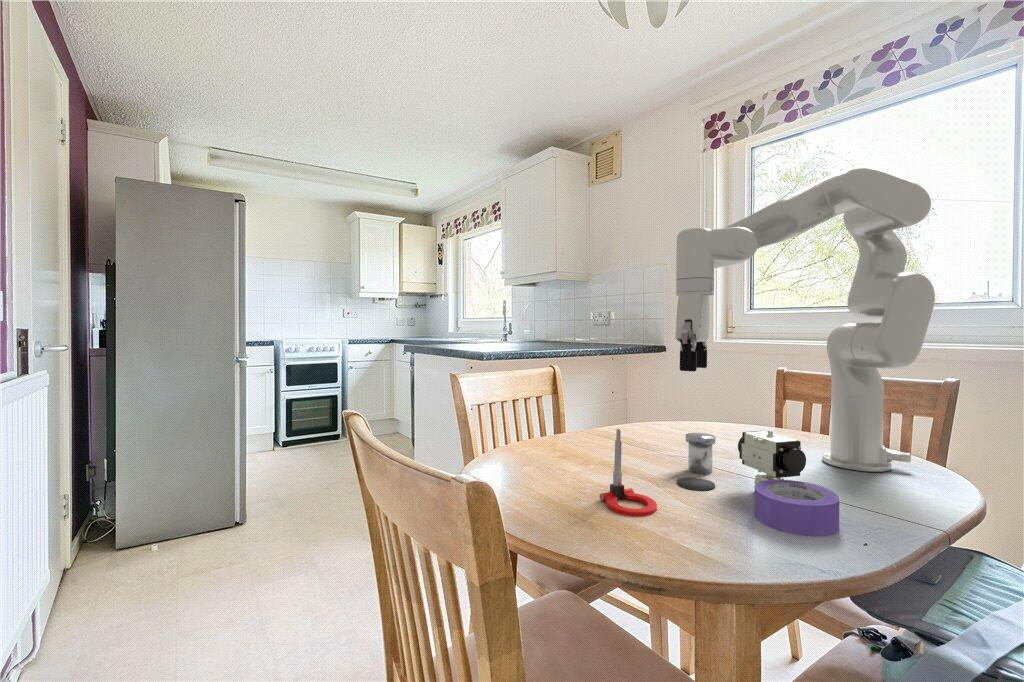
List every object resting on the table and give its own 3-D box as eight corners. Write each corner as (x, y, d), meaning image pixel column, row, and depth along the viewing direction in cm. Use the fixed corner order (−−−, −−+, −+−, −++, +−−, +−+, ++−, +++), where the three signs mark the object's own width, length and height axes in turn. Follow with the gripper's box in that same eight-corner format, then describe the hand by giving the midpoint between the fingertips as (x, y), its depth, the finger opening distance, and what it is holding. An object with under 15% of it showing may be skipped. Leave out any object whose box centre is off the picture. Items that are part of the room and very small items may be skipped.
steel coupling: (716, 469, 105) (716, 434, 105) (713, 476, 100) (713, 440, 99) (687, 465, 108) (687, 431, 107) (683, 472, 102) (683, 437, 102)
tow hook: (667, 514, 81) (632, 494, 90) (669, 439, 80) (634, 426, 89) (626, 522, 78) (594, 501, 86) (628, 444, 77) (596, 430, 85)
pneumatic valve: (756, 483, 95) (757, 423, 95) (806, 504, 84) (807, 436, 83) (732, 486, 94) (733, 425, 93) (780, 508, 82) (781, 438, 82)
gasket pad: (717, 482, 96) (717, 480, 96) (713, 492, 90) (713, 491, 90) (680, 477, 99) (680, 475, 99) (674, 487, 93) (674, 485, 93)
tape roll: (796, 542, 70) (797, 508, 70) (737, 512, 81) (738, 483, 81) (858, 532, 73) (858, 499, 73) (793, 504, 84) (793, 476, 84)
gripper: (686, 291, 111) (685, 365, 111) (664, 286, 96) (664, 371, 97) (721, 290, 106) (720, 367, 107) (704, 284, 92) (703, 373, 93)
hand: (693, 369), depth 102 cm, fingers open, 9 cm apart
